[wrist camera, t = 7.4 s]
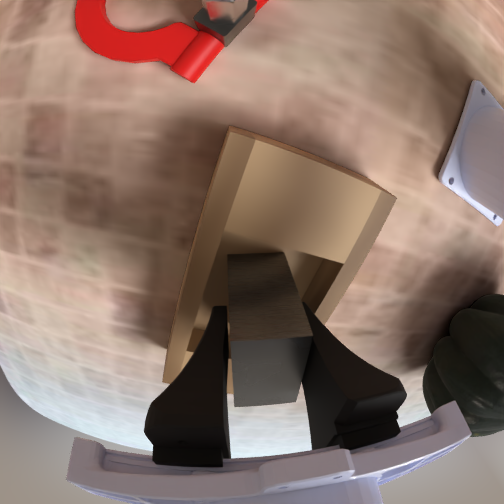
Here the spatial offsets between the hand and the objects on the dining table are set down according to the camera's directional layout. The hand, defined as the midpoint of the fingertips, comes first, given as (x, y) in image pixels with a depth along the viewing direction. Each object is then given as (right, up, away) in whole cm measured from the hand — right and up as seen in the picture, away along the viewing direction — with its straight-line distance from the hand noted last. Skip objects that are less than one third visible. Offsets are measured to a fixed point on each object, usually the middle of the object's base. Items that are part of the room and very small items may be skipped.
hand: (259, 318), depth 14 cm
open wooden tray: (0, +2, +3) cm, 3 cm away
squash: (+22, -5, +10) cm, 25 cm away
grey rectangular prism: (0, +1, +2) cm, 2 cm away
